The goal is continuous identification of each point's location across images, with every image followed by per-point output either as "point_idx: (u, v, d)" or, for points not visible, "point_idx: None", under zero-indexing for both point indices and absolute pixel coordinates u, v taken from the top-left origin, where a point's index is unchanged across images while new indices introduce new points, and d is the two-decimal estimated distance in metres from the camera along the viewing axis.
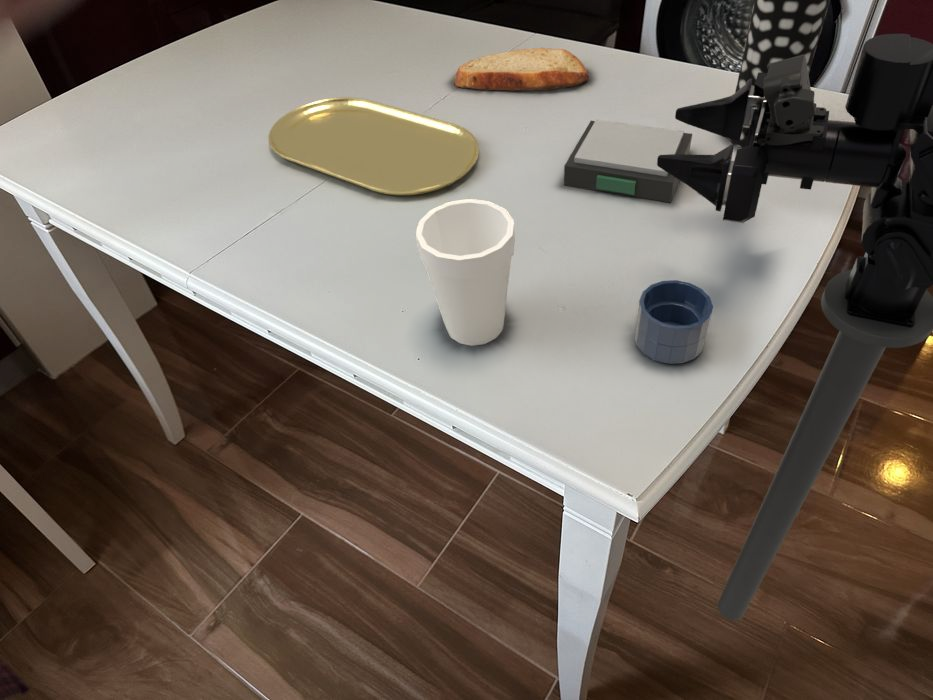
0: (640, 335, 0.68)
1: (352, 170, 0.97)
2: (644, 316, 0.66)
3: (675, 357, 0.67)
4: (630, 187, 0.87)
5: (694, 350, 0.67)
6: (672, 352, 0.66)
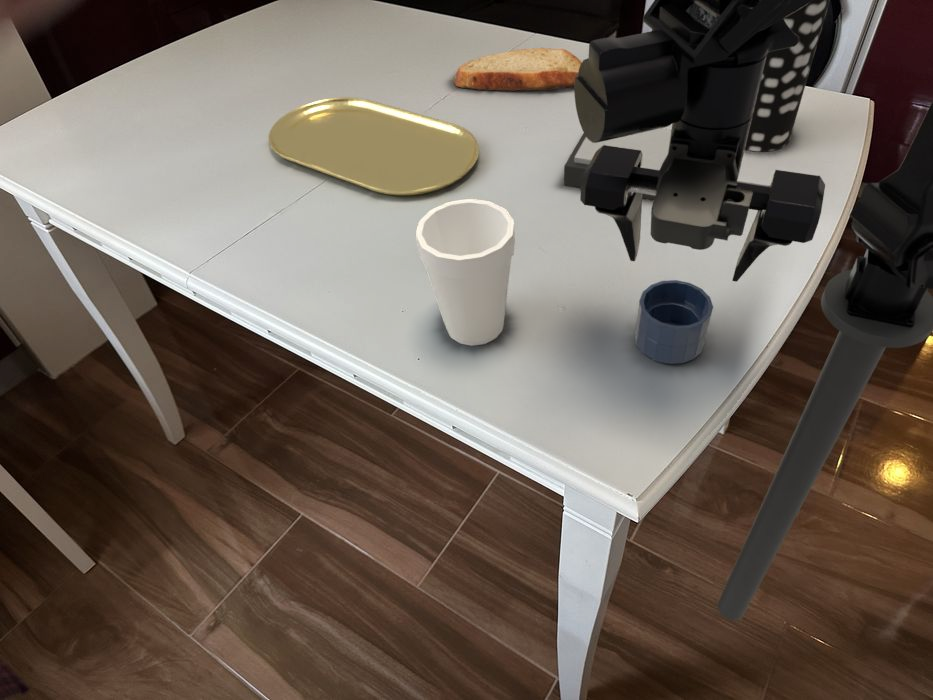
0: (640, 335, 0.68)
1: (352, 170, 0.97)
2: (644, 316, 0.66)
3: (675, 357, 0.67)
4: None
5: (694, 350, 0.67)
6: (672, 352, 0.66)
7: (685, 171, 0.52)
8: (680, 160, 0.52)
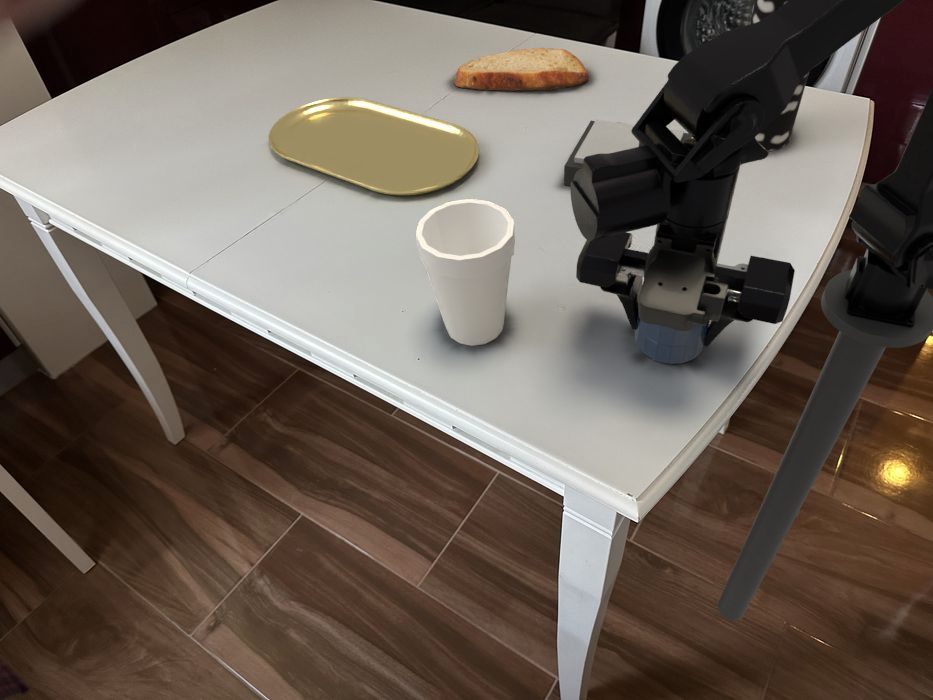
0: (640, 335, 0.68)
1: (352, 170, 0.97)
2: None
3: (675, 357, 0.67)
4: None
5: (694, 350, 0.67)
6: (672, 352, 0.66)
7: (669, 262, 0.58)
8: (665, 251, 0.59)
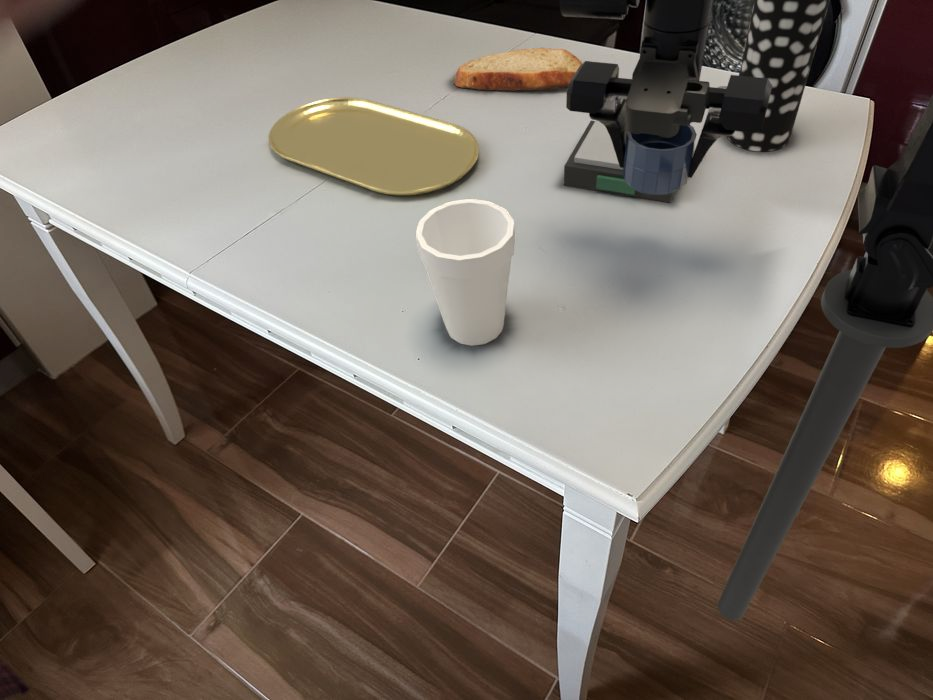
0: (628, 168, 0.71)
1: (352, 170, 0.97)
2: (631, 144, 0.69)
3: (661, 185, 0.70)
4: (630, 187, 0.87)
5: (679, 178, 0.70)
6: (658, 179, 0.70)
7: (654, 71, 0.61)
8: (649, 62, 0.62)
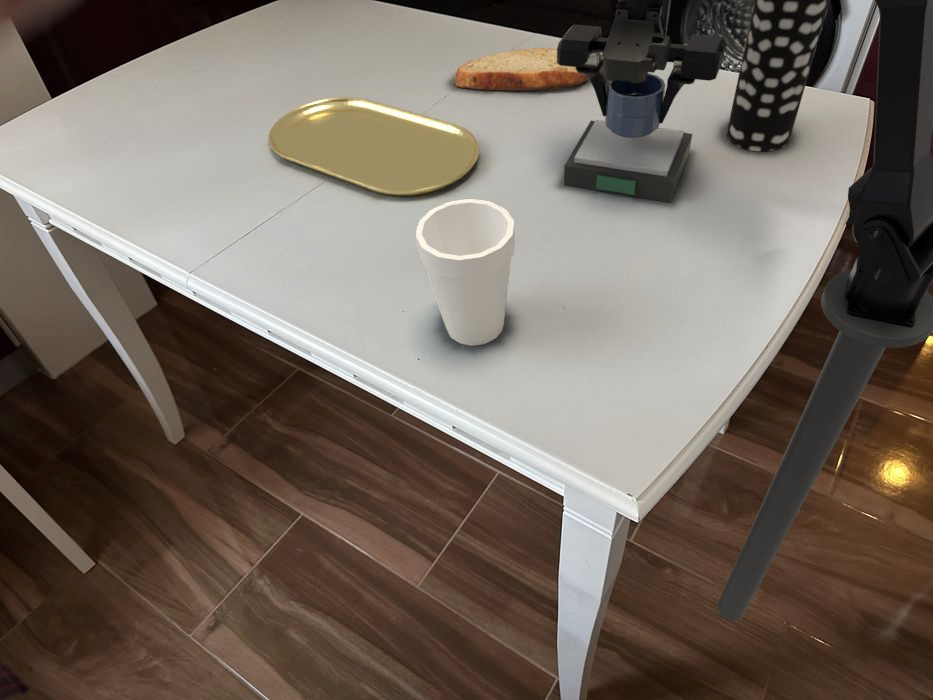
0: (608, 115, 0.85)
1: (352, 170, 0.97)
2: (611, 94, 0.83)
3: (636, 129, 0.84)
4: (630, 187, 0.87)
5: (651, 122, 0.84)
6: (633, 123, 0.84)
7: (626, 28, 0.75)
8: (623, 22, 0.76)
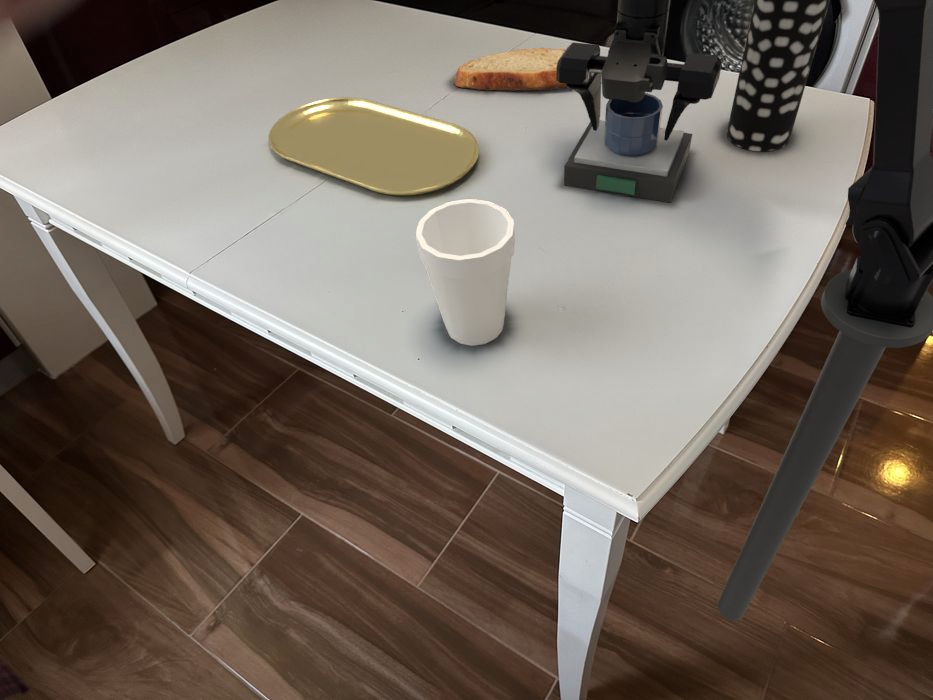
0: (607, 134, 0.87)
1: (352, 170, 0.97)
2: (609, 114, 0.85)
3: (634, 148, 0.86)
4: (630, 187, 0.87)
5: (649, 142, 0.86)
6: (631, 143, 0.86)
7: (624, 48, 0.77)
8: (621, 42, 0.77)
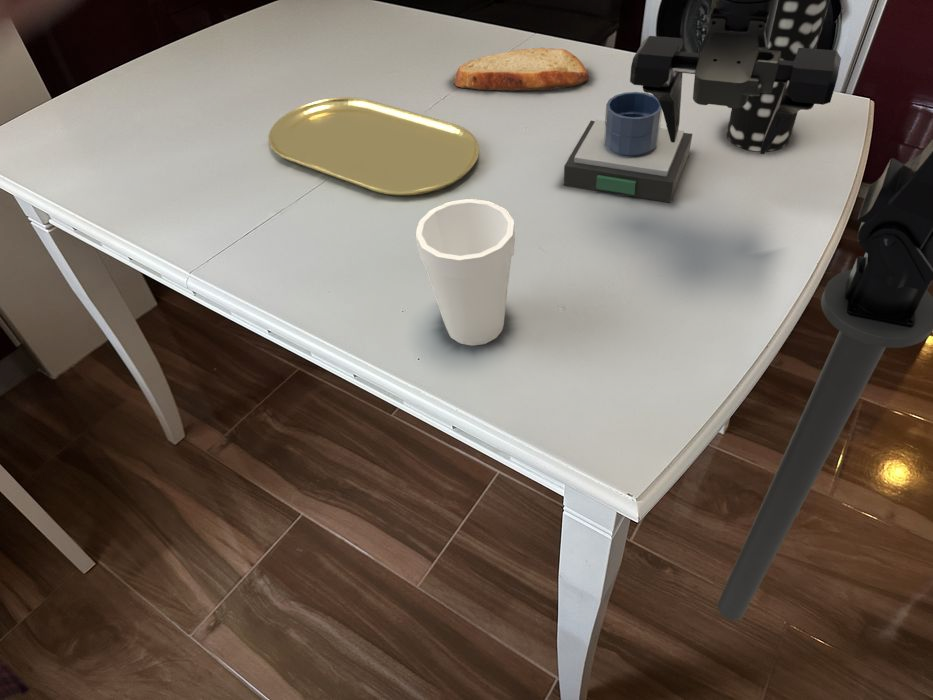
0: (607, 134, 0.87)
1: (352, 170, 0.97)
2: (609, 114, 0.85)
3: (634, 148, 0.86)
4: (630, 187, 0.87)
5: (649, 142, 0.86)
6: (631, 143, 0.86)
7: (723, 41, 0.62)
8: (718, 33, 0.62)
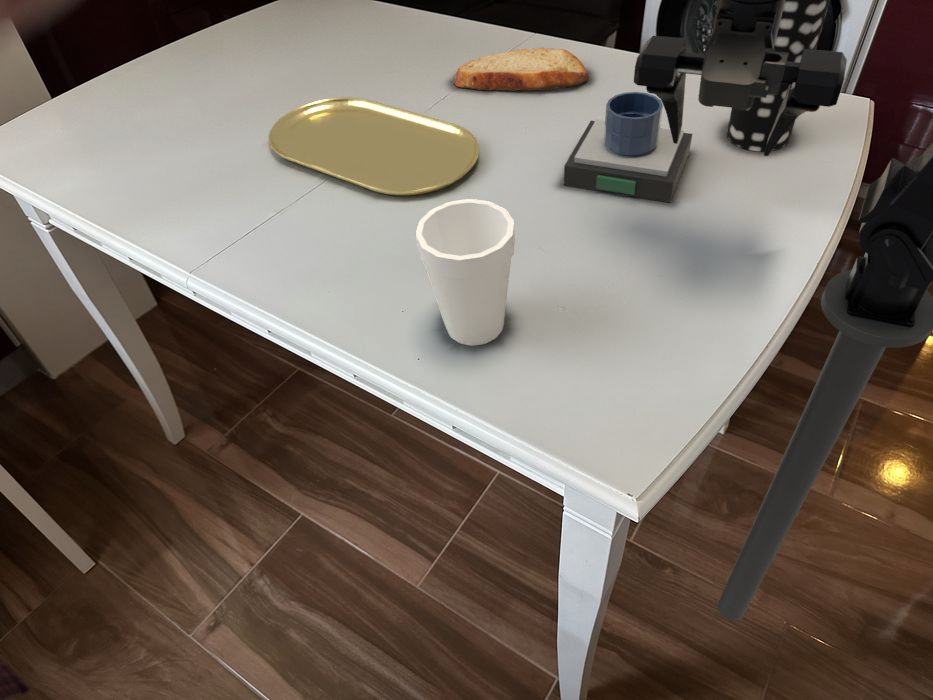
0: (607, 134, 0.87)
1: (352, 170, 0.97)
2: (609, 114, 0.85)
3: (634, 148, 0.86)
4: (630, 187, 0.87)
5: (649, 142, 0.86)
6: (631, 143, 0.86)
7: (729, 42, 0.61)
8: (725, 34, 0.61)
